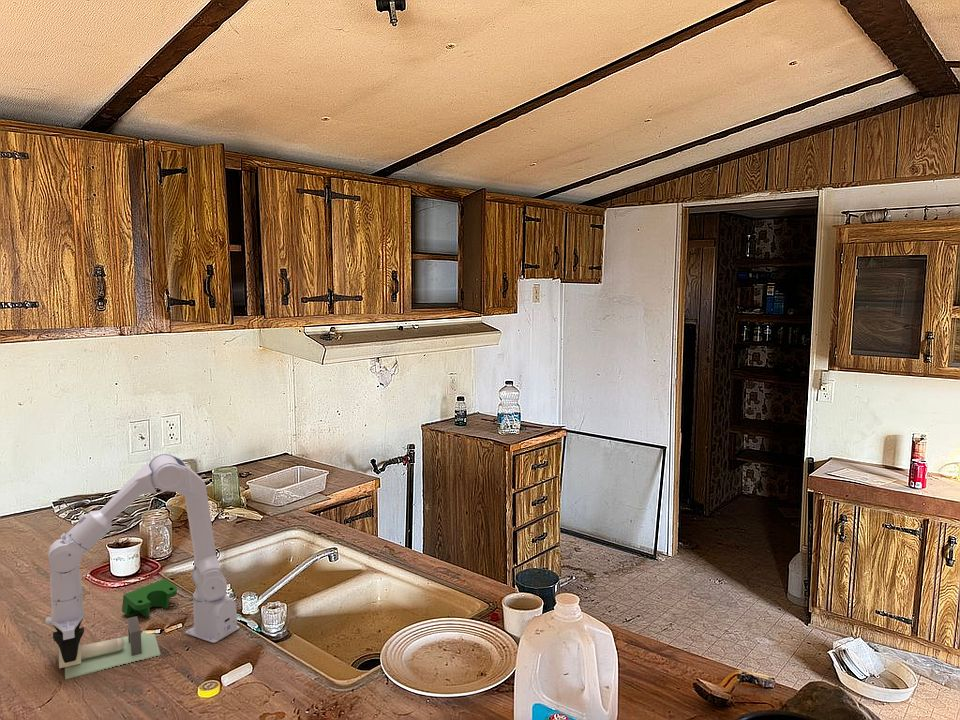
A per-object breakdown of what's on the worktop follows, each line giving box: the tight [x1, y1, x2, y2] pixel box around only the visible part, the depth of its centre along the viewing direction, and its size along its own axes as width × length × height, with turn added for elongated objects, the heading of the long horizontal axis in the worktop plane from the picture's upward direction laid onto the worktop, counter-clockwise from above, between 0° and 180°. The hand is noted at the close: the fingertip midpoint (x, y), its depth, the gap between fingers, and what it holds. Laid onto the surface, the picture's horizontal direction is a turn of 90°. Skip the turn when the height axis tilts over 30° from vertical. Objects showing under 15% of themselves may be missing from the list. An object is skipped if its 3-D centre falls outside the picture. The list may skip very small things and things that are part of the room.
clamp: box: [121, 578, 178, 618], centre depth 170 cm, size 12×6×9 cm, turn 142°
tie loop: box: [127, 615, 142, 656], centre depth 153 cm, size 2×7×5 cm, turn 32°
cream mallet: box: [57, 637, 124, 669], centre depth 149 cm, size 12×4×5 cm, turn 122°
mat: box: [64, 631, 162, 680], centre depth 151 cm, size 18×12×1 cm, turn 122°
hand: (69, 655), depth 146 cm, fingers closed on cream mallet, 4 cm apart
